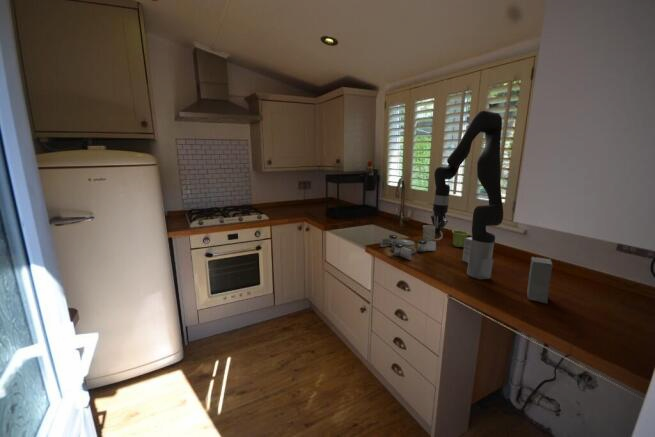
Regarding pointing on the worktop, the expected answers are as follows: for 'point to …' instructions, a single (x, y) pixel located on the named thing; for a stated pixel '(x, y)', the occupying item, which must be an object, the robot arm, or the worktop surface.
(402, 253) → the footscrew left
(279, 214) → the worktop surface
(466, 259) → the supplement box
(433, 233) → the mug
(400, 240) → the level instrument
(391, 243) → the footscrew far
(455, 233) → the plant pot
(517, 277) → the worktop surface
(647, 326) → the worktop surface
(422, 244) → the footscrew right
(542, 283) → the skincare box
